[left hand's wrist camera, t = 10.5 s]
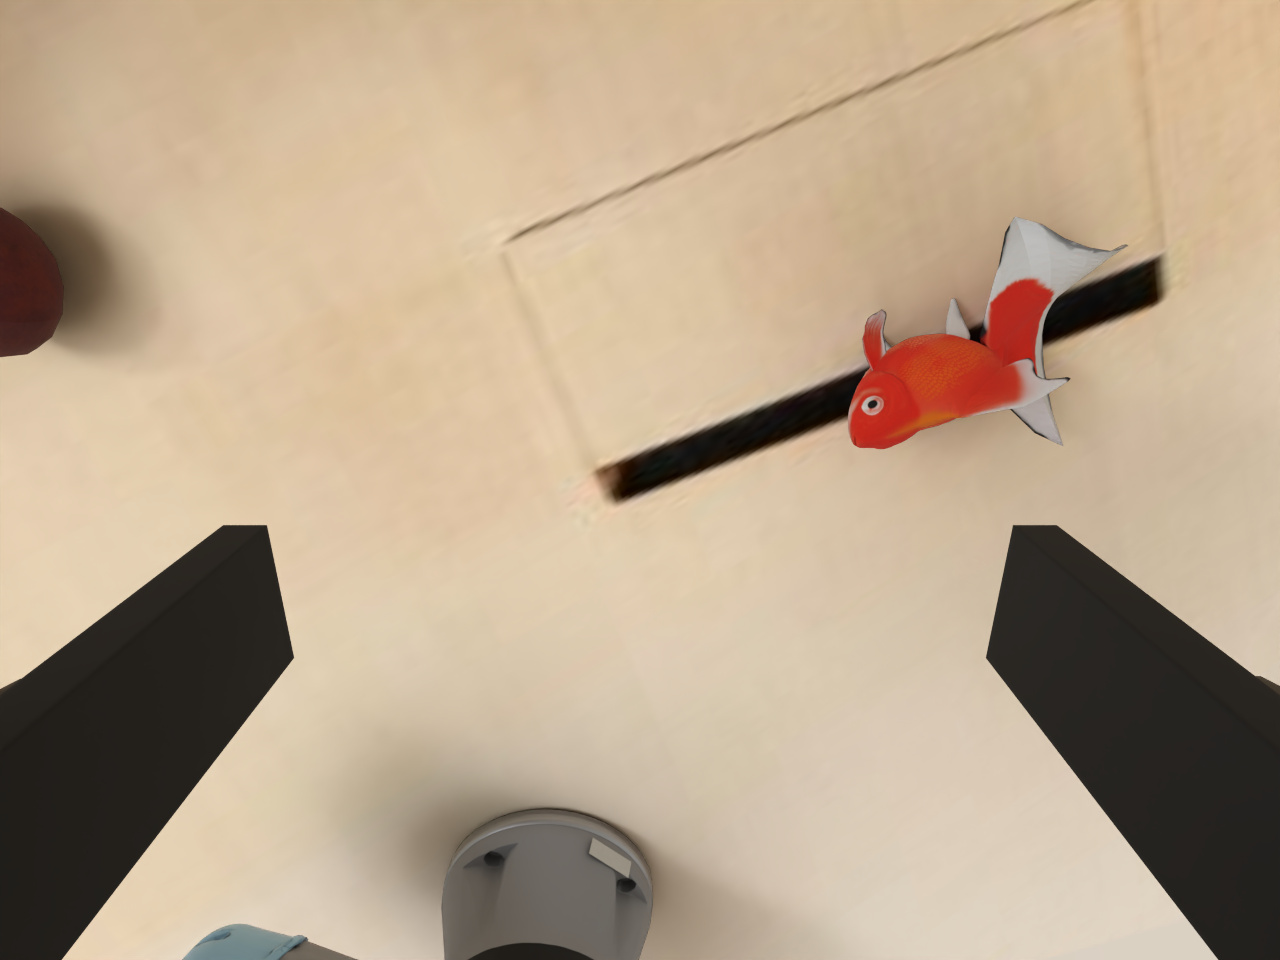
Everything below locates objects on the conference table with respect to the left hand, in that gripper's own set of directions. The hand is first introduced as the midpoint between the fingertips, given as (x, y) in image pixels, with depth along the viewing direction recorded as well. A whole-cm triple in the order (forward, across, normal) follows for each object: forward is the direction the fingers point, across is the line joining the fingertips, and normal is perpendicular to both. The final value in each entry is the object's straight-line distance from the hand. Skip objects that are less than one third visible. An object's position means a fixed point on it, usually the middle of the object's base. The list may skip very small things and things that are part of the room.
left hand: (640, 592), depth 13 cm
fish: (+28, -17, 0) cm, 32 cm away
